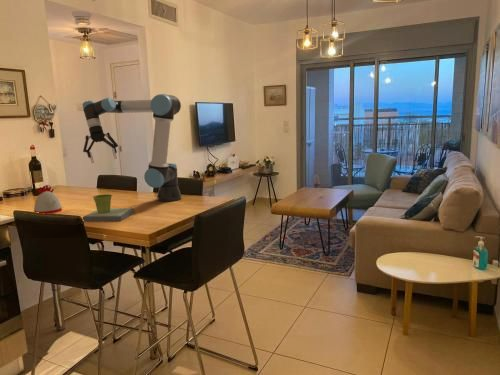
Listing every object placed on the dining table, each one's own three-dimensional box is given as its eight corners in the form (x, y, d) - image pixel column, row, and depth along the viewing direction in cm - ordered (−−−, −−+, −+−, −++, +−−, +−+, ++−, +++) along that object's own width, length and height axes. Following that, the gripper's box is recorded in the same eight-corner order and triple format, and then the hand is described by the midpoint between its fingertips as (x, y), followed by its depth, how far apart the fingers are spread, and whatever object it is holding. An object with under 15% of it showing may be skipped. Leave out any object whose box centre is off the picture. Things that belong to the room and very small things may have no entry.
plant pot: (112, 213, 192) (111, 197, 190) (93, 215, 189) (91, 198, 188) (114, 209, 201) (112, 193, 199) (95, 210, 198) (93, 195, 197)
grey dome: (31, 211, 212) (28, 186, 209) (57, 207, 221) (54, 182, 219) (38, 215, 202) (35, 188, 199) (65, 211, 211) (62, 185, 209)
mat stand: (134, 212, 204) (134, 207, 204) (121, 220, 186) (120, 215, 186) (99, 212, 206) (98, 208, 205) (83, 221, 188) (82, 216, 187)
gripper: (114, 126, 234) (123, 158, 234) (72, 131, 220) (81, 165, 220) (117, 122, 228) (126, 155, 228) (74, 127, 213) (84, 163, 213)
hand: (104, 160), depth 224 cm, fingers open, 13 cm apart
